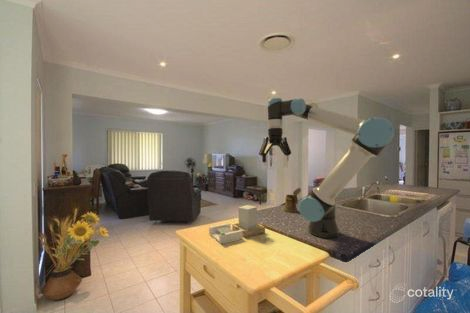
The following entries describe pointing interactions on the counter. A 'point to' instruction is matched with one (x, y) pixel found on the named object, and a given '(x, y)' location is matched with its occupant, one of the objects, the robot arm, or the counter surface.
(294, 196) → the wooden mug
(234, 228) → the wooden trough
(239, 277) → the counter surface
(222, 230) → the cradle platform
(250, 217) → the supplement box
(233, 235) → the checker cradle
